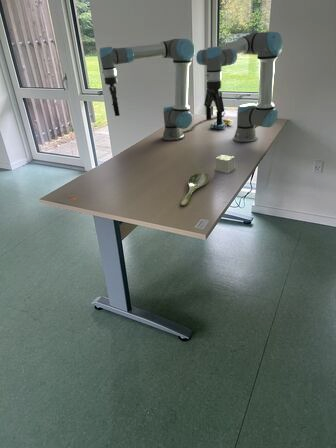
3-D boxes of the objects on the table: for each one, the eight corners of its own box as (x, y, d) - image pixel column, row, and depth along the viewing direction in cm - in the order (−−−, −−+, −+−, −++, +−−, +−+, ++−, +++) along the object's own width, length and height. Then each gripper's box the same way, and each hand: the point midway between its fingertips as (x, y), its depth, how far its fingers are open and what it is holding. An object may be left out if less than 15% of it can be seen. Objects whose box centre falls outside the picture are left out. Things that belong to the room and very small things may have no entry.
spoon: (193, 209, 156) (193, 205, 155) (172, 207, 159) (171, 203, 158) (212, 175, 182) (212, 172, 181) (193, 174, 186) (193, 170, 184)
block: (222, 166, 194) (222, 154, 190) (234, 169, 189) (234, 156, 185) (215, 170, 190) (215, 158, 186) (228, 173, 185) (228, 160, 181)
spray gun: (235, 122, 269) (217, 122, 276) (235, 117, 267) (217, 117, 273) (227, 130, 254) (208, 130, 260) (227, 125, 252) (208, 124, 258)
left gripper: (103, 74, 207) (110, 109, 219) (104, 80, 186) (111, 118, 197) (115, 73, 208) (121, 108, 219) (118, 78, 187) (124, 117, 198)
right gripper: (197, 78, 182) (198, 118, 193) (217, 84, 161) (217, 128, 172) (210, 77, 184) (210, 116, 194) (231, 82, 163) (230, 126, 174)
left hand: (116, 113), depth 208 cm, fingers open, 13 cm apart
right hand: (213, 122), depth 183 cm, fingers open, 13 cm apart
